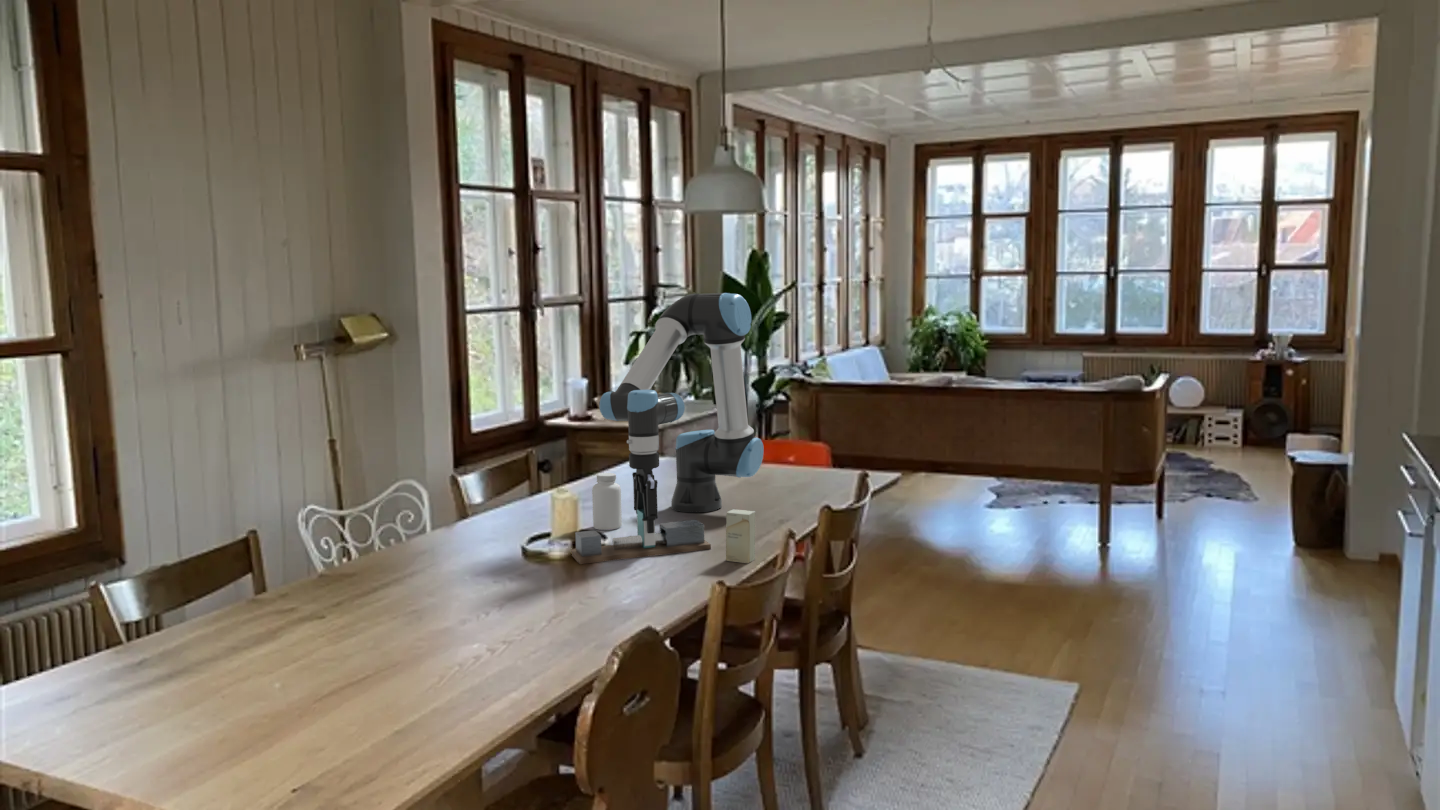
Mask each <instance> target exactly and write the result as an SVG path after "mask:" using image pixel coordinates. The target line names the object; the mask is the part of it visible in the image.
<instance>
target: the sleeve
mask: <svg viewBox="0 0 1440 810" xmlns="http://www.w3.org/2000/svg"><path fill="white" fill-rule="evenodd" d="M659 533H666V547H673V546H682V545H691V544H700V543H704V540H705V524H704V523H702V522H701V521H699V520H698V519H691V520H681V521H671V522H661V523H659Z"/></svg>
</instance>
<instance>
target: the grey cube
mask: <svg viewBox="0 0 1440 810" xmlns="http://www.w3.org/2000/svg"><path fill="white" fill-rule="evenodd" d="M601 546H602V535H601V534H600V533H599V532H597V530H596V529H595V530H584V531H575V549H576V551H577V553H578V554H579V555H580V556H581V557H585V556H594V555H602V552H601Z"/></svg>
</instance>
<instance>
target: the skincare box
mask: <svg viewBox="0 0 1440 810" xmlns="http://www.w3.org/2000/svg"><path fill="white" fill-rule="evenodd" d="M725 516H726V518H725V519H726V520H725V521H726V522H725V523H726V524H725V526H726V529H725V531H726V532H725V542H726V543H725V561H726V562H735V563H740V564H750V563H752V562H753V561H755V560H756V556H755V555H756V547H755V546H756V510H746V509H736V508H735V509H734V508H732V509H730V510H728V511H726V514H725Z"/></svg>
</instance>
